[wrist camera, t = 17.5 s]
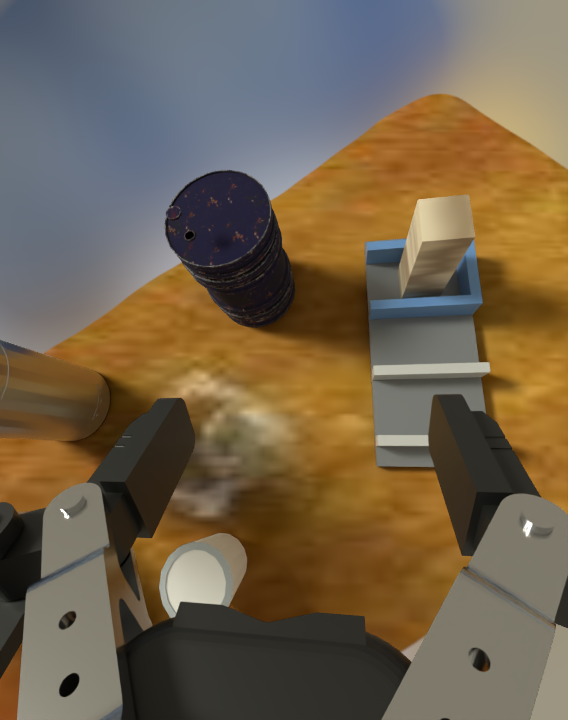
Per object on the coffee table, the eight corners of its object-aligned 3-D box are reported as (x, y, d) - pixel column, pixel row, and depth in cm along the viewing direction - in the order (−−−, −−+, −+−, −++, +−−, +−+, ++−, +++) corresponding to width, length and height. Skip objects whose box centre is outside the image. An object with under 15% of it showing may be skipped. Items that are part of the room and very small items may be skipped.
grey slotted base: (376, 465, 38) (379, 467, 34) (364, 247, 44) (366, 226, 40) (488, 467, 36) (506, 469, 32) (458, 239, 42) (470, 217, 38)
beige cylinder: (202, 518, 39) (172, 531, 33) (260, 538, 38) (242, 556, 31) (182, 585, 38) (147, 613, 31) (242, 608, 36) (219, 643, 30)
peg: (400, 301, 40) (422, 241, 29) (397, 269, 41) (417, 199, 30) (437, 299, 40) (475, 237, 28) (434, 267, 41) (468, 194, 29)
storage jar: (269, 242, 47) (225, 119, 29) (311, 297, 44) (289, 197, 27) (206, 285, 47) (125, 187, 29) (244, 343, 44) (178, 272, 26)
